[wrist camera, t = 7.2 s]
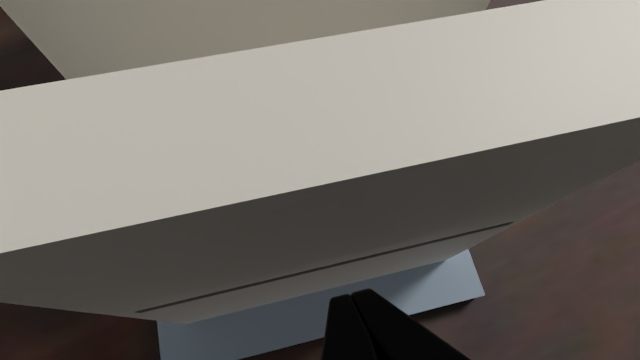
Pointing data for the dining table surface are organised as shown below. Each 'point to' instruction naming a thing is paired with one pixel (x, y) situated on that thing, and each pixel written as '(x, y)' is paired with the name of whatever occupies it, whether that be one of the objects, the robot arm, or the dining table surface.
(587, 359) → the dining table surface
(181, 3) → the domino
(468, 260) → the board
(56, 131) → the domino
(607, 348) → the dining table surface
